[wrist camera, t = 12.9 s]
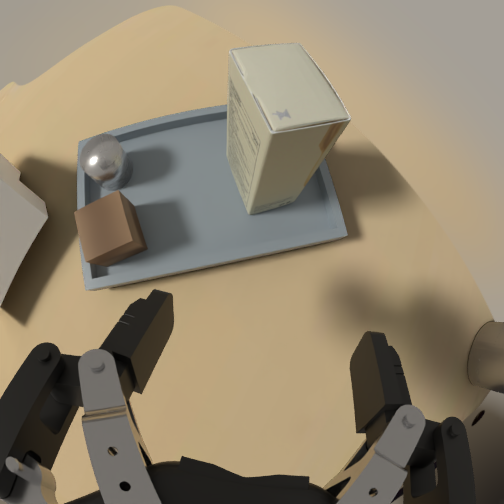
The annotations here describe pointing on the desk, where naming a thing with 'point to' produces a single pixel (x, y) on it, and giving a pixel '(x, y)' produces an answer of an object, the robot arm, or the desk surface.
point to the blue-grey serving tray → (200, 203)
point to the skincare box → (278, 122)
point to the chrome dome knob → (106, 162)
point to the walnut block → (109, 230)
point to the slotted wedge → (16, 222)
